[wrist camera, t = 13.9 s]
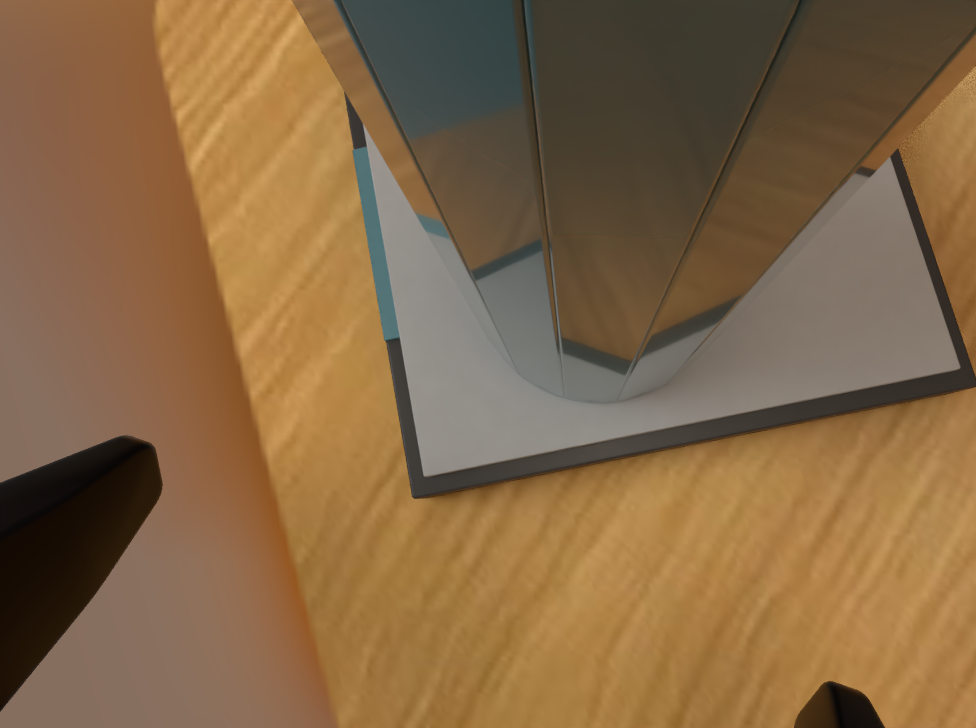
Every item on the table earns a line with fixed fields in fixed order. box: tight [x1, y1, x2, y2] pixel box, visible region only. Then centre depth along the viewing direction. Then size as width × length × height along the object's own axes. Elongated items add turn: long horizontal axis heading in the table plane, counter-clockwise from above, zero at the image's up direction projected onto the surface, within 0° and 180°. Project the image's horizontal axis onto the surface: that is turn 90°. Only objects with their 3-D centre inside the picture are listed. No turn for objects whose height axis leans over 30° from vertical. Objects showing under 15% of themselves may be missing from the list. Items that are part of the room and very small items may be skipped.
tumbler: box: [292, 0, 976, 403], centre depth 11 cm, size 7×7×16 cm
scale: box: [344, 92, 976, 499], centre depth 20 cm, size 15×15×2 cm
